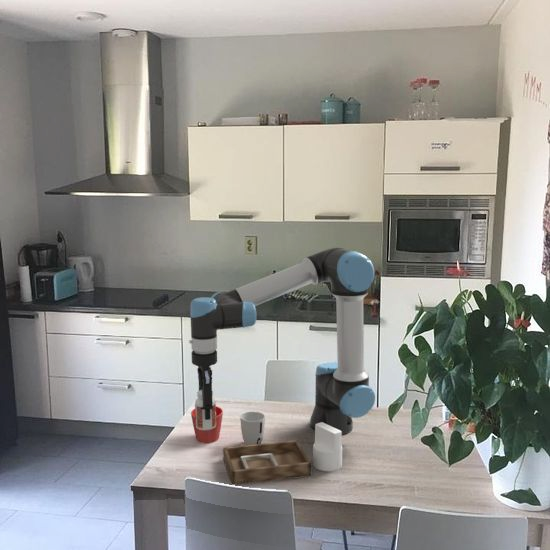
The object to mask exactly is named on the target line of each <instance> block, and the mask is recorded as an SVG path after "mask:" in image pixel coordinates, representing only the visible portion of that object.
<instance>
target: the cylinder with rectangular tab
mask: <svg viewBox="0 0 550 550" xmlns="http://www.w3.org/2000/svg"><path fill="white" fill-rule="evenodd" d="M312 446H313V447H312V465H313V467H314V468H315V469H317V470H319V471H322V472H334V471H338V470H339V469H341V468H342V466H343V445H342V431H340V430H338V429H336V428H334V427H332V426H329V425H327V424H325V423H323V422H320V423H317V424H315V431H314V443H313V444H312Z"/></svg>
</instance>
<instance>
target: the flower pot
mask: <svg viewBox="0 0 550 550" xmlns="http://www.w3.org/2000/svg"><path fill="white" fill-rule="evenodd" d="M223 413H224V409H222V407H220V406H216V427H215V428H213V429H211V430H199V429H197V428H196V418H195V408H193V409H192V410H191V412H190V415H191V421H192V426H193V430H194V431H193V432H194V435H195V440H196V441H197V442H198V443H200V444H211V443H215V442H217V441H218V440H220V436H221V429H222V421H223V416H224V415H223Z"/></svg>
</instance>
